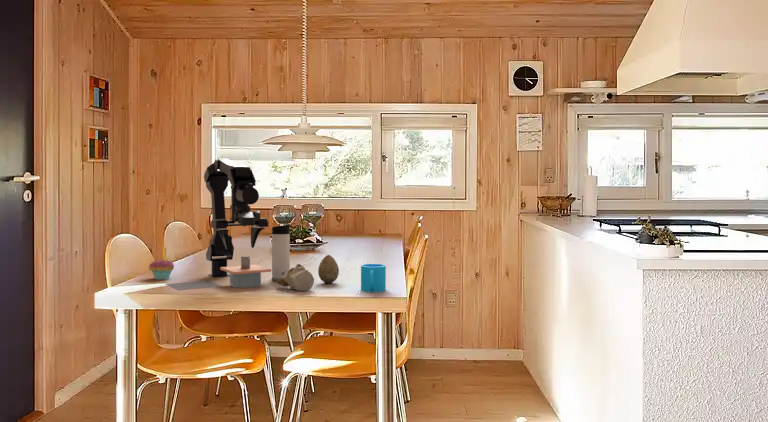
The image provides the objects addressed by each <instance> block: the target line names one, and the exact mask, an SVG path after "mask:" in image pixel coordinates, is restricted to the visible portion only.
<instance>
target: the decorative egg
mask: <svg viewBox="0 0 768 422" xmlns="http://www.w3.org/2000/svg"><path fill="white" fill-rule="evenodd" d="M339 272H340V268H339V265H338V263H337V261H336V259H335V258H334V257H333V256H332V255H330V254H327V255H325V256H324V257H323V258H322V259H321V260H320V263H319V266H318V270H317V274H318V277H319V279H320V280H321V281H322V282H323V283H324V284H332V283H334V282H335V281H337V280H338V276H339Z"/></svg>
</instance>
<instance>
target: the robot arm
mask: <svg viewBox="0 0 768 422" xmlns="http://www.w3.org/2000/svg"><path fill="white" fill-rule="evenodd" d="M255 178H256V177H255V176H254V173H253V170H252V169H251V167H250V166H249V165H238V164H237V163H235V162H233V161H231V159H229V158H216V159H214V162H212V163H211V164H210V165H209V166H207V167H206V169H205V172H204V174H203V180H204V183H205V187H206V189H207V190H208V191H209V193H210V195H211V196H210V197H211V214H212V215H211V217H212V220H211V222H210V228H212V229H213V233H212V235H211V237H210V239H209V245H208V247H207V250H206V253H205V258H206V259H205V260H206V261H209V262H211V265H210V266H211V273H209V274H208V276H209V277H211V278H222V277H223V278H225V277H226V278H227V277H230V274H229V273H228V272H226V271H223V270H220V267H228V261H229V260H230V261H232V260H233V257H234V250H235V246H234V244H233V237H232V236H231V235H229V228H228V227H240V226H241V227H247V226H250V245H251V246H250V247H251V248H252V249H254V248H255V245H256V242H257V239H258V236H259V234H260V233H261V232H262V230H265V229H266V228H268V227H269V220H268V219H267V218H265V217H261V212H260V210H253V211H251V205H254V204H256V203H257V202H258V200H259V198H260V193H259V191H258V190H257V188H255V186H256V179H255ZM229 183H230V191H231V194H230V195H231V198H230V199H231V201H230V203H231V205H229V209H231V210H230V211H231V213H230V215H231V217H230V218H229V220H227V216H226V205H225V204H226V202H225V201H226V200H225V192H226V190H227V189H228V188H227V187H228V186H229ZM227 228H228V229H227Z"/></svg>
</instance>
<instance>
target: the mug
mask: <svg viewBox="0 0 768 422" xmlns="http://www.w3.org/2000/svg"><path fill="white" fill-rule="evenodd" d="M386 266H387V265H386V264H383V263H382V264H381V263H366V264H365V263H364V264H361V266H360V291H362V292H365V293H379V292H380V291H382V292H386V289H387V287H386V283H387V281H386V280H387V279H386V277H387V276H386V274H387V273H386V272H387V270H386V269H387V267H386ZM380 293H381V292H380Z"/></svg>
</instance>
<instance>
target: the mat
mask: <svg viewBox="0 0 768 422" xmlns="http://www.w3.org/2000/svg"><path fill="white" fill-rule="evenodd" d="M165 285H166V286H169V287H171V288H173V289H175V290H177V291H186V290H196V289H209V288H217V287H218V288H219V287H221V288H222V285H221V284H218V283H215V282H213V281H211V280H206V279H205V280H195V281H193V280H192V281H182V282H181V281H180V282H169V283H168V282H167V283H165Z"/></svg>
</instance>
